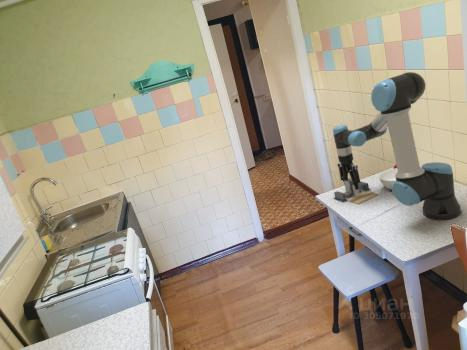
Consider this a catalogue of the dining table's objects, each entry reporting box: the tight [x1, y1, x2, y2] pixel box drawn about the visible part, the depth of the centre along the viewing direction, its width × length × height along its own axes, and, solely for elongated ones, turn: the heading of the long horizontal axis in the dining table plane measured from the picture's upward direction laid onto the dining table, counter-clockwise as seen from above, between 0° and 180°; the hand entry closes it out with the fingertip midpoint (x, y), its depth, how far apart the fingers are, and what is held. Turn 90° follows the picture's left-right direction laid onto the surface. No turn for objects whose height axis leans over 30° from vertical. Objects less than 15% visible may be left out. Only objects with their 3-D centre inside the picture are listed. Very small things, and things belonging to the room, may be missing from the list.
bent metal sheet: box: [343, 177, 363, 200], centre depth 206 cm, size 4×10×9 cm, turn 114°
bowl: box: [378, 168, 398, 190], centre depth 200 cm, size 18×18×7 cm
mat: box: [347, 190, 379, 205], centre depth 200 cm, size 8×14×1 cm, turn 114°
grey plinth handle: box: [333, 180, 371, 203], centre depth 207 cm, size 8×19×4 cm, turn 114°
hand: (352, 193), depth 207 cm, fingers open, 6 cm apart
